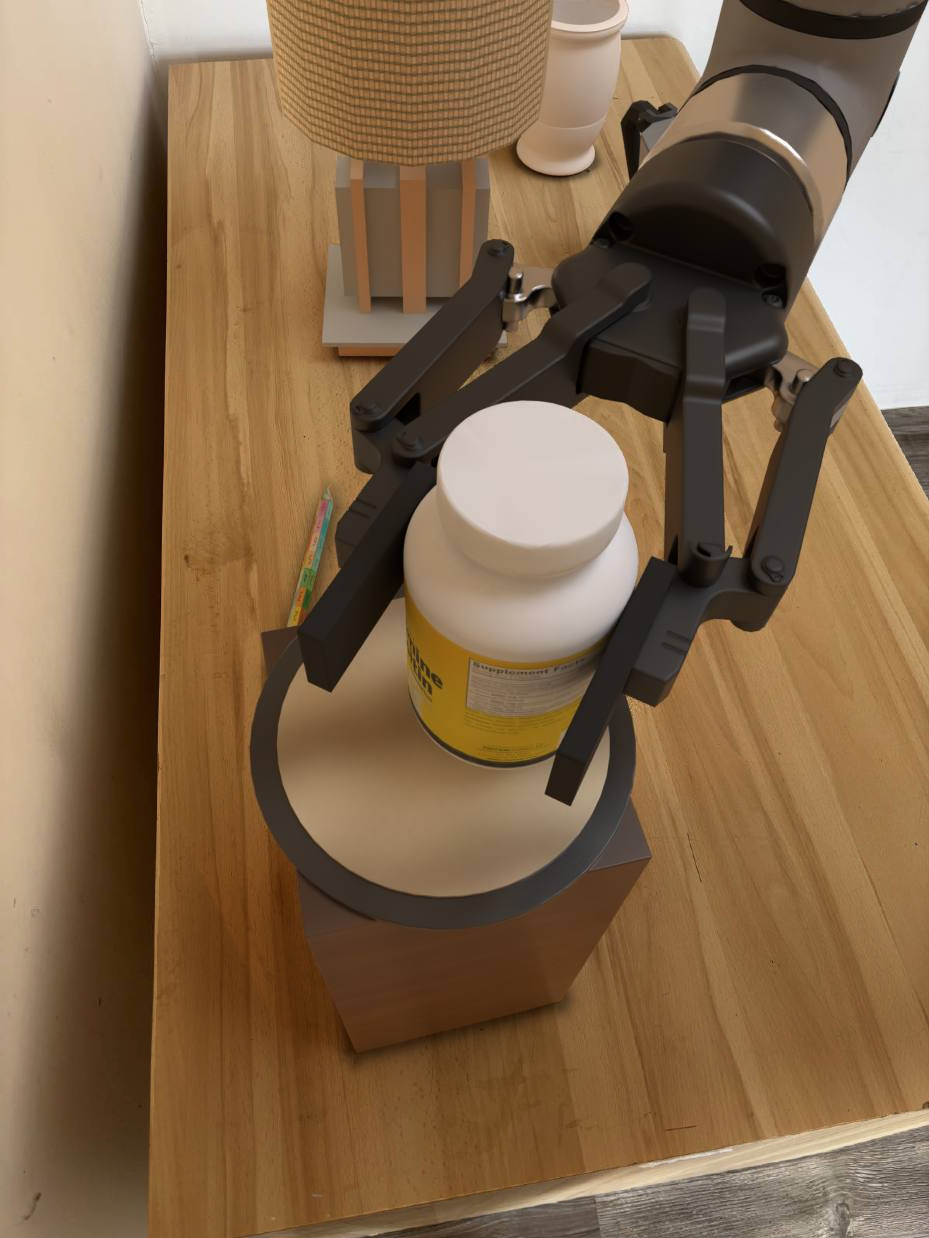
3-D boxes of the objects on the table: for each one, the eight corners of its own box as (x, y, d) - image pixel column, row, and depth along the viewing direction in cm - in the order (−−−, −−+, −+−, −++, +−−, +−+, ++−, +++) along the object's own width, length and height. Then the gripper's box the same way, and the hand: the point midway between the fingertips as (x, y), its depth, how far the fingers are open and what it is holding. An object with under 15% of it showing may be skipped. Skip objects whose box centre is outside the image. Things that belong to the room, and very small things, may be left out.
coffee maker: (737, 312, 87) (802, 122, 72) (663, 344, 84) (715, 154, 69) (639, 226, 94) (679, 35, 78) (567, 253, 91) (595, 61, 76)
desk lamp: (300, 389, 80) (226, -100, 50) (313, 245, 90) (257, -229, 61) (528, 389, 81) (587, -91, 51) (514, 247, 91) (556, -220, 62)
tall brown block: (582, 1015, 54) (694, 873, 31) (341, 1077, 51) (275, 973, 29) (518, 791, 61) (572, 545, 38) (304, 837, 59) (228, 606, 36)
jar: (623, 168, 99) (651, 15, 86) (540, 194, 96) (558, 39, 83) (568, 118, 104) (588, -34, 91) (488, 141, 101) (497, -12, 88)
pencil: (323, 487, 74) (272, 684, 64) (322, 477, 73) (270, 676, 63) (340, 488, 74) (290, 686, 64) (338, 479, 73) (288, 678, 63)
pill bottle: (445, 591, 34) (452, 346, 25) (614, 644, 34) (692, 410, 24) (378, 742, 31) (356, 528, 21) (564, 805, 30) (630, 612, 20)
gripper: (927, 393, 36) (755, 932, 25) (479, 240, 40) (157, 643, 29) (1033, 221, 30) (867, 839, 19) (490, 60, 34) (83, 486, 23)
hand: (436, 718), depth 24 cm, fingers closed on pill bottle, 6 cm apart
